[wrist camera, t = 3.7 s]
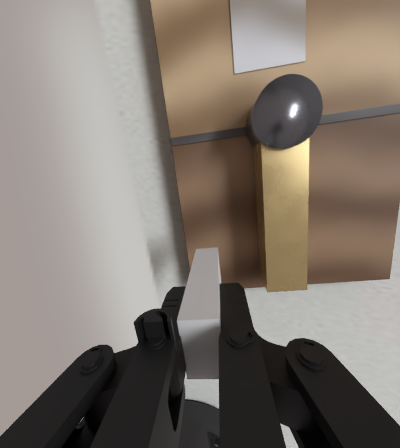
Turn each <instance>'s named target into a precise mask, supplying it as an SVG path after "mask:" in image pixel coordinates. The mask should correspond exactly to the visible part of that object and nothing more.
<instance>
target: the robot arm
mask: <svg viewBox="0 0 400 448" xmlns="http://www.w3.org/2000/svg"><path fill="white" fill-rule="evenodd" d="M134 325H135V330H136V334H137V338H138V344H137V346H135V347H132V348H130V349H127V350H123V351H120V352H117V353H114V352H113V350H112V347H110V346H108V345H98V346H95V347H92V348H91V349H89V350H87V351H85V352H84V353H83V354H82V355H81V356H79V357H78V358H77V359H76V360H75V361H74V362H73V363H72V364H71V365H70V366H69V367H68V368H67V369H66V370H65V371H64V372H63V373H62V374H61V375H60V376H59V377H58V378H57V379H56V380H55V381H54V382H53V383H52V384H51V385H50V386H49V387H48V388H47V390H45V391H44V392H43V393H42V395H41V396H40V397H39V398H38V399H37V400H36V401H35V402H34V403H33V404H32V405H31V406H30V407H29V408H28V409H27V410H26V411H25V412H24V413H23V414H22V415H21V416H20V417H19V418H18V419H17V420H16V421H15V422H14V423H13V424H12V425H11V426H10V427H9V428H8V429H7V430H6V431H5V432H4V433H3V434H2V435H1V436H0V448H286V445H285V442H284V438H283V434H282V430H281V426H280V423H281V424H283V425H286V426H288V427H289V428H290V430H291V432H292V434H293V436H294V438H295V440H296V442H297V444H298V447H299V448H400V426H399V424H398V423H397V422H396V421H395V420H394V419H393V418H392V417H391V416H390V415H389V414H388V413H387V412H386V411H385V409H384V408H383V407H382V406H381V405H380V404H379V403H378V402H377V401H376V400H375V399H374V398H373V397H372V396H371V394H370V393H369V392H368V391H367V390H366V389H365V388H364V387H363V386H362V385H361V384H360V383H359V382H358V380H357V379H356V378H355V377H354V376H353V375H352V374H351V373H350V372H349V371H348V370H347V369H346V368H345V367H344V365H343V364H342V363H341V362H340V361H339V360H338V359H337V358H336V357H335V356H334V355H333V354H332V353H331V352H330V351H329V350H328V349H327V348H326V347H324V346H323V345H321V344H319V343H317V342H315V341H313V340H309V339H305V338H299V339H294V340H292V341H290V342H289V343H288V345H287V346H286V347H284V346H280V345H276V344H273V343H270V342H268V341H266V340H264V339H262V338H261V337H260V336H259V335H258V334H257V333H256V331H255V330H254V327H253V324H252V320H251V316H250V312H249V308H248V303H247V299H246V295H245V291H244V288H243V287H242V286H241V285H240V284H239V283H238V282H237V283H221V274H220V265H219V255H218V247H214V248H202V249H196V251H195V255H194V259H193V262H192V266H191V270H190V273H189V277H188V281H187V285H186V286H183V287H173V288H172V289H171V290H170V291H169V292H168V293H167V294H166V297H165V299H164V302H163V304H162V307H161V309H152V310H149V311H147V312H145V313H143V314H142V315H140V316H139V317H138V318H137V319H136V321H135V322H134ZM185 371H186V374H187V379H219V410H218V409H216V408H214V407H212V406H209V405H207V404H204V403H200V402H195V401H185V386H184V378H185ZM83 417H84V418H83ZM82 418H83V420H82V421H81V419H82ZM80 421H81V422H80ZM79 422H80V423H79Z"/></svg>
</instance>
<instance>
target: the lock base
mask: <svg viewBox="0 0 400 448" xmlns="http://www.w3.org/2000/svg"><path fill="white" fill-rule="evenodd" d="M150 2H151V9H152V16H153V23H154V30H155V36H156V43H157V50H158V57H159V64H160V70H161V77H162V84H163V91H164V97H165V104H166V111H167V118H168V125H169V131H170V140H171V146H172V152H173V159H174V165H175V172H176V179H177V186H178V193H179V199H180V206H181V213H182V220H183V227H184V233H185V240H186V247H187V254H188V260H189V267H190V270H191V266H192V262H193V259H194V255H195V251H196V249H202V248H214V247H218V255H219V265H220V274H221V283H237V282H238V283H239V284H240V285H241V286H242V287H243V288H256V287H265V286H264V284H263V282H262V279H261V277H260V267H259V248H258V228H257V208H256V189H255V169H254V150H253V146H252V145H251V144H250V142H249V140H248V138H247V134H246V121H247V118H248V115H249V113H250V111H251V109H252V108H253V106H254V104H255V102H256V100H257V98H258V97H259V95H260V93H261V92H262V90H263V89H264V88H265V87H266V86H267V85H268V84H269V83H270V82H271V81H273V80H274V79H276V78H278V77H280V76H282V75H286V74H299V75H303V76H305V77H307V78H309V79H310V80H312V81H313V82H314V83H315V84H316V86H317V87H318V89H319V91H320V93H321V96H322V101H323V111H322V116H321V120H320V122H319V124H318V126H317V128H316V130H315V131H314V132H313V134H312V135H311V136H310V137H309V197H308V264H307V284H318V283H334V282H350V281H366V280H381V279H390V272H391V264H392V257H393V249H394V241H395V234H396V226H397V218H398V210H399V203H400V0H150Z"/></svg>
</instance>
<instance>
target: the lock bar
mask: <svg viewBox="0 0 400 448" xmlns="http://www.w3.org/2000/svg"><path fill="white" fill-rule="evenodd" d="M322 111H323V101H322V96H321V93H320V91H319V89H318V87H317V86H316V84H315V83H314V82H313V81H312V80H310V79H309V78H307V77H305V76H303V75H299V74H286V75H282V76H280V77H278V78H276V79H274V80H273V81H271V82H270V83H269V84H268V85H267V86H266V87H265V88H264V89H263V90H262V92H261V93H260V95H259V97H258V98H257V100H256V102H255V104H254V106H253V108H252V109H251V111H250V113H249V115H248V118H247V121H246V134H247V138H248V140H249V142H250V144H251V145H252V146H253V150H254V169H255V189H256V208H257V228H258V248H259V267H260V277H261V279H262V282H263V284H264V286H265V288H266V290H267V292H278V291H294V290H307V264H308V197H309V137H310V136H311V135H312V134H313V132H314V131H315V130H316V128H317V126H318V124H319V122H320V120H321V116H322Z"/></svg>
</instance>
